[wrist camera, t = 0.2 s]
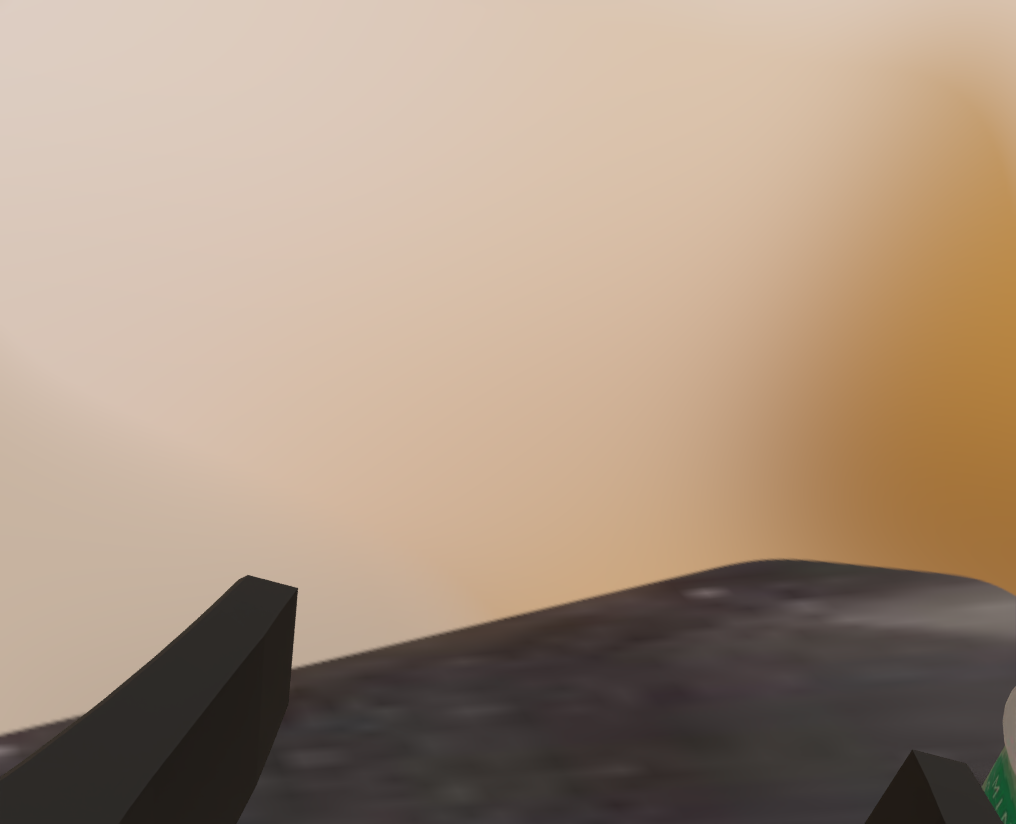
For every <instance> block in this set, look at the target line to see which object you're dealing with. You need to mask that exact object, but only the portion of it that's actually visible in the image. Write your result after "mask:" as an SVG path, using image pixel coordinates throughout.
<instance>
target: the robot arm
mask: <svg viewBox="0 0 1016 824" xmlns="http://www.w3.org/2000/svg"><path fill="white" fill-rule="evenodd" d="M297 594H298V588H295V587H292V586H288V585H284V584H280V583H276V582H272V581H269V580H265V579H261V578H257V577H253V576H250V575H247V576H245V577H243V578H241V579H239V580H238V581H237V582H236V583H235V584H234V585H233V586H231V587H230V588H229V589H228V590H227V591H226V592H225V593H224V594H223V595H222V596H221V597H220V598H219V599H218V600H217V601H216V602H215V603H214V604H213V605H212V606H211V607H210V608H209V609H207V610H206V611H205V612H204V613H203V614H202V615H201V616H200V617H199V618H198V619H197V620H196V621H194V622H193V623H192V624H191V625H190V626H189V627H188V628H187V629H186V630H185V631H183V632H182V633H181V634H180V635H179V636H178V637H177V638H176V639H174V640H173V641H172V642H171V643H170V644H169V645H168V646H166V647H165V648H164V649H163V650H162V651H161V652H160V653H159V654H158V655H156V656H155V657H154V658H153V659H152V660H151V661H149V662H148V663H147V664H146V665H144V666H143V667H142V668H141V669H140V670H139V671H137V672H136V673H135V674H134V675H132V676H131V677H130V678H129V679H128V680H126V681H125V682H124V683H123V684H122V685H120V686H119V687H118V688H117V689H116V690H114V691H113V692H112V693H111V694H109V695H108V696H107V697H106V698H105V699H103V701H101V702H100V703H98V704H97V705H96V706H95V707H94V708H92V709H91V710H90V711H88V712H87V713H86V714H84V715H83V716H82V717H81V718H79V719H78V720H77V721H75V722H74V723H73V724H71V725H70V726H69V727H67V728H66V729H65V730H63V731H62V732H61V733H59V734H58V735H57V736H55V737H54V738H53V739H51V740H50V741H49V742H47V743H46V744H45V745H43V746H42V747H41V748H39V749H38V750H37V751H36V752H34V753H33V754H32V755H30V756H29V757H28V758H26V759H25V760H23V761H22V762H21V763H19V764H18V765H17V766H15V767H14V768H12V769H11V770H9V771H8V772H7V773H5V774H4V775H2V776H1V777H0V824H236V823H237V821H238V820H239V818H240V816H241V814H242V812H243V810H244V808H245V806H246V804H247V802H248V800H249V798H250V796H251V795H252V793H253V791H254V789H255V787H256V785H257V782H258V780H259V777H260V775H261V772H262V770H263V767H264V765H265V762H266V760H267V757H268V755H269V753H270V750H271V748H272V745H273V742H274V740H275V737H276V735H277V732H278V730H279V727H280V724H281V722H282V719H283V717H284V714H285V712H286V709H287V706H288V702H289V690H290V678H291V666H292V654H293V641H294V629H295V617H296V606H297ZM865 824H1004V823H1003V822H1002V820H1001V819H1000V817H999V815H998V814H997V812H996V810H995V809H994V807H993V805H992V804H991V802H990V801H989V799H988V797H987V796H986V794H985V792H984V791H983V789H982V788H981V786H980V784H979V783H978V781H977V780H976V778H975V776H974V775H973V773H972V772H971V770H970V768H969V767H968V765H967V764H966V763H962V762H958V761H954V760H950V759H947V758H943V757H939V756H935V755H931V754H928V753H924V752H920V751H916V750H912V751H911V753H910V754H909V756H908V757H907V759H906V760H905V762H904V763H903V765H902V767H901V768H900V770H899V771H898V773H897V774H896V776H895V777H894V779H893V780H892V782H891V784H890V785H889V787H888V788H887V790H886V791H885V793H884V794H883V796H882V798H881V799H880V801H879V802H878V804H877V805H876V807H875V808H874V810H873V811H872V813H871V815H870V816H869V818H868V819H867V821H866V822H865Z"/></svg>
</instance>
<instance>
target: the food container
mask: <svg viewBox="0 0 1016 824" xmlns="http://www.w3.org/2000/svg"><path fill="white" fill-rule="evenodd" d="M1003 730H1004V742H1005V747H1004V749H1003V750H1002V752H1001V754H1000V756H999V757H998V759H997V761H996V763H995V764H994V766H993V768H992V769H991V771H990V773H989V775H988V776H987V778H986V780H985V782H984V783H983V785H982V787H981V788H982V789H983V791H984V792H985V794H986V796H987V797H988V799H989V801H990V802H991V804H992V805H993V807H994V809H995V810H996V812H997V814H998V815H999V817H1000V819H1001V820H1002V822H1003V823H1004V824H1016V687H1015V688H1014V689H1013V690H1012V692H1011V694H1010V696H1009V698H1008V700H1007V702H1006V704H1005V711H1004V717H1003Z"/></svg>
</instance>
